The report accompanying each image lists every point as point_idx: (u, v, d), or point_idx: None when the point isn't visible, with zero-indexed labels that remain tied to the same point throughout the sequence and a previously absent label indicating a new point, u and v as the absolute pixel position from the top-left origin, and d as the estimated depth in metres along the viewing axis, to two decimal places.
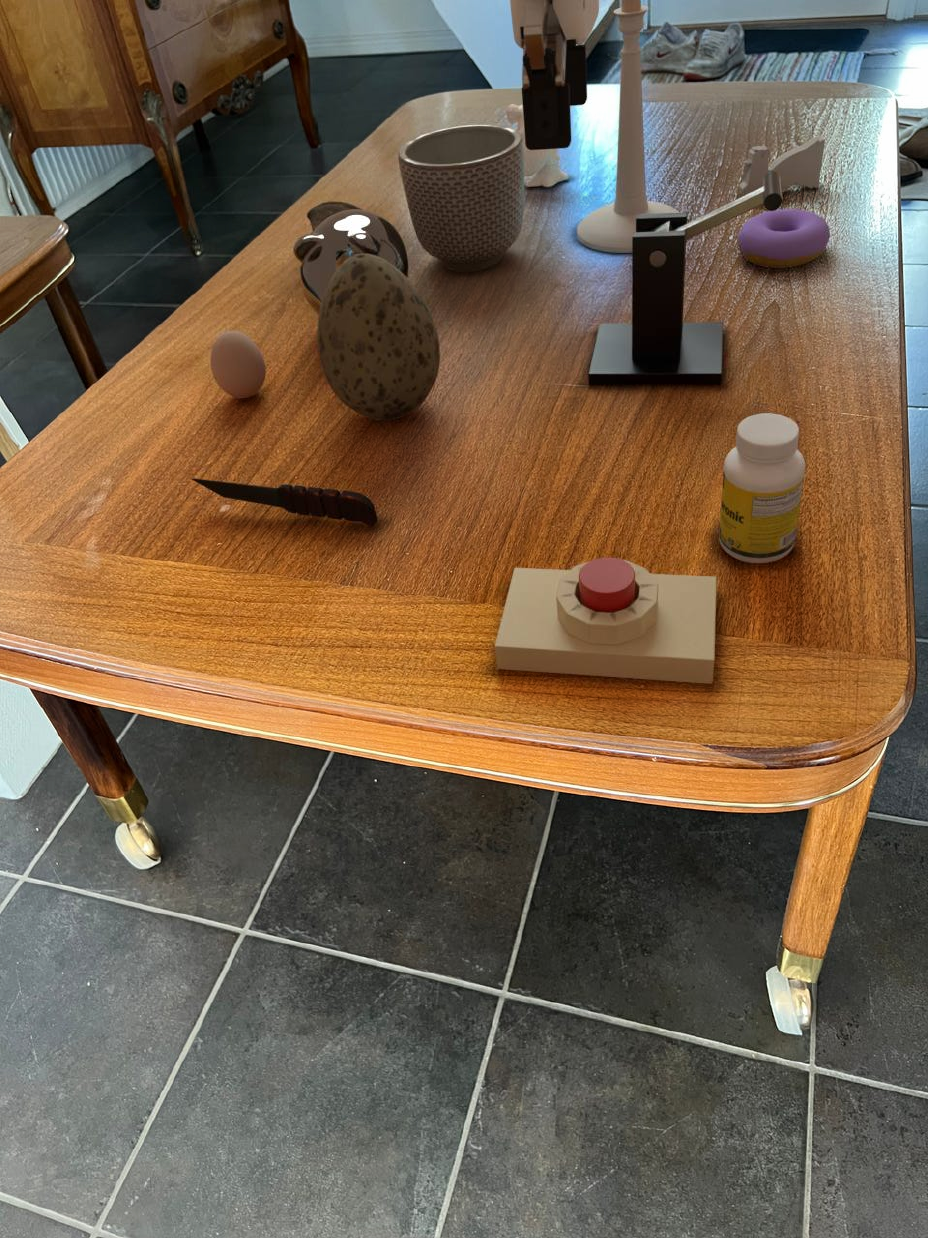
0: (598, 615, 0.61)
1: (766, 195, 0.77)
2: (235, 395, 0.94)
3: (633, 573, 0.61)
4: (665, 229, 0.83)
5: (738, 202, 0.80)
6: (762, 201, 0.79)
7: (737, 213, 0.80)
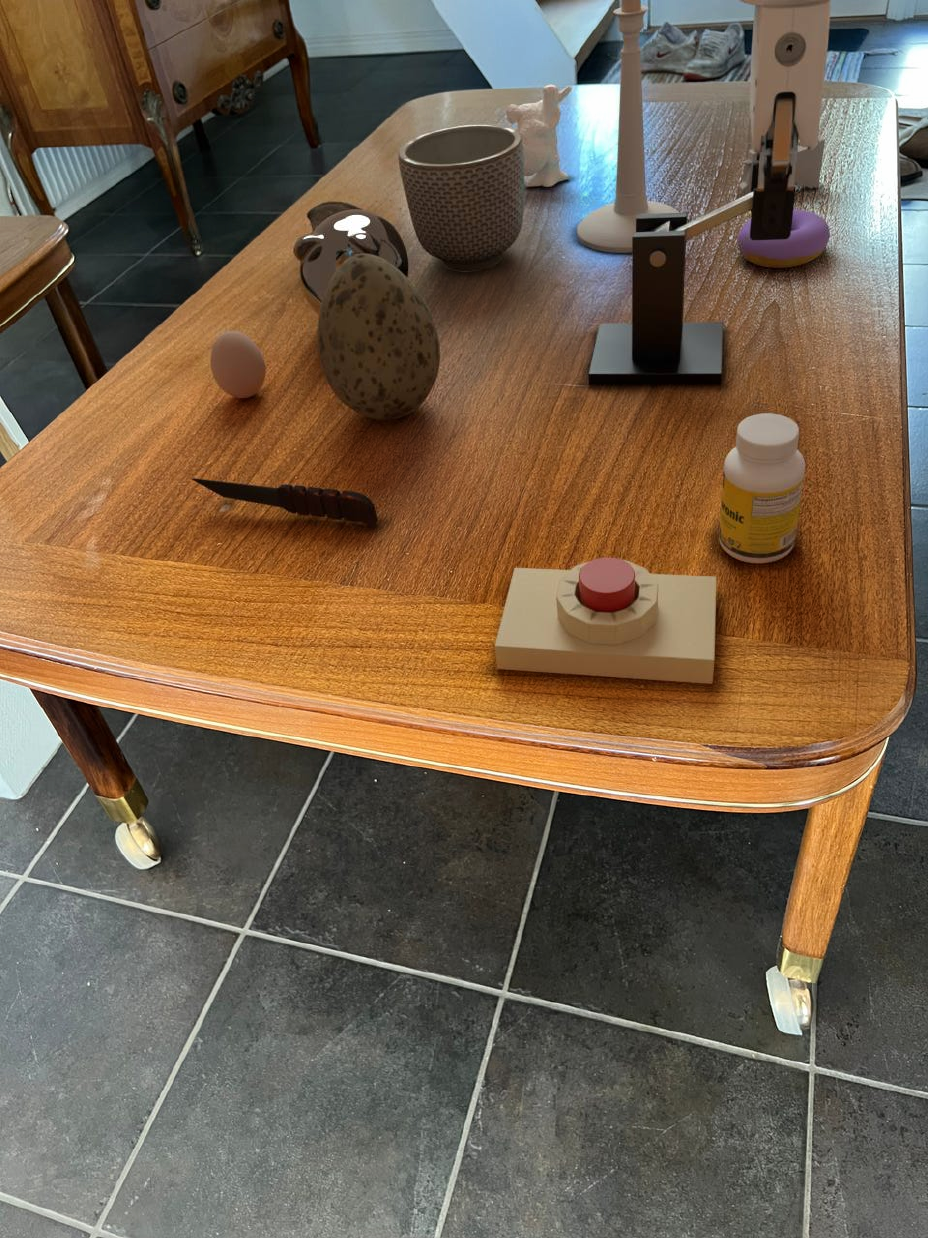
0: (598, 615, 0.61)
1: None
2: (235, 395, 0.94)
3: (633, 573, 0.61)
4: (665, 229, 0.83)
5: (738, 202, 0.80)
6: None
7: (737, 213, 0.80)
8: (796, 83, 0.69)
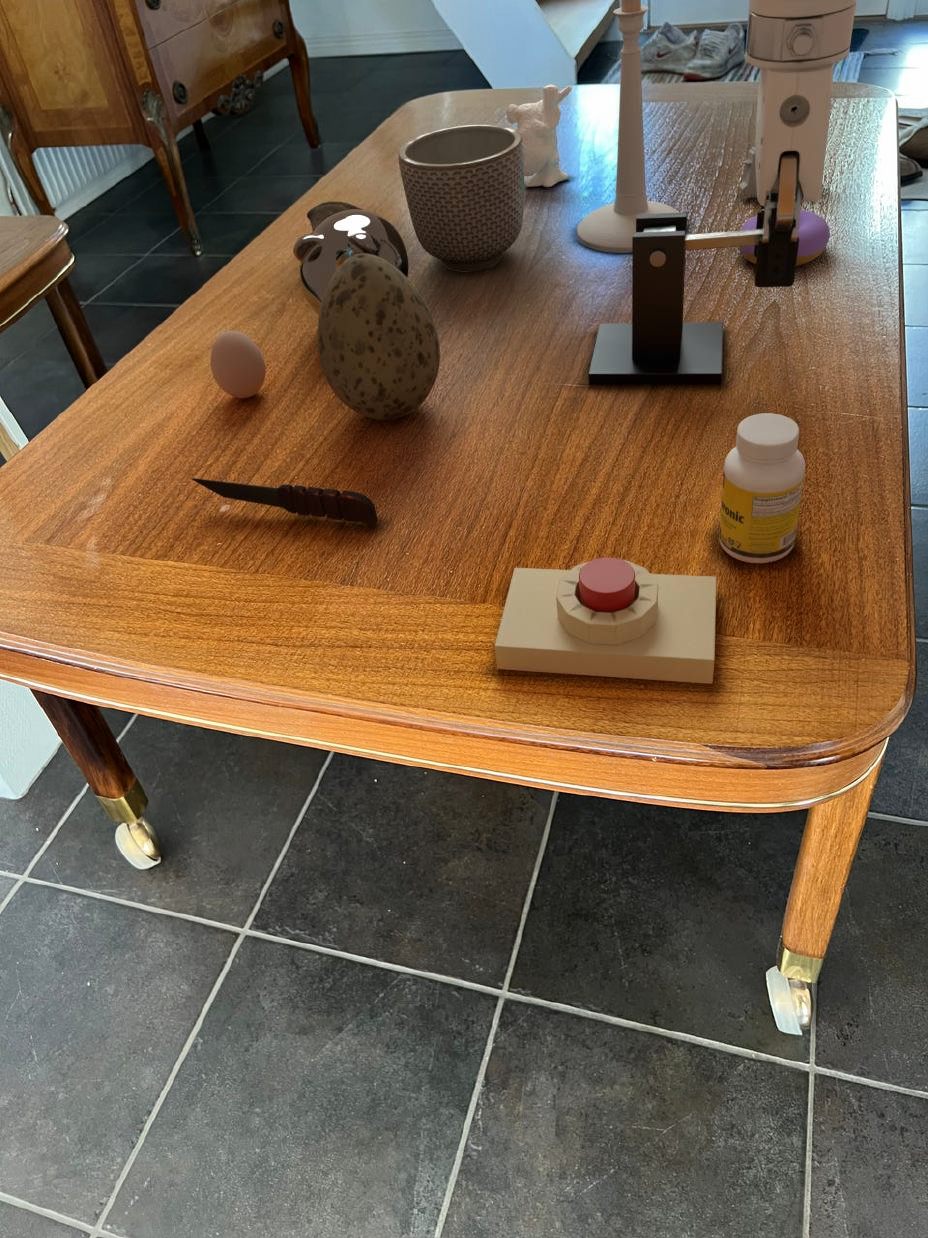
0: (598, 615, 0.61)
1: None
2: (235, 395, 0.94)
3: (633, 573, 0.61)
4: None
5: (746, 233, 0.82)
6: None
7: (741, 244, 0.82)
8: (800, 143, 0.72)
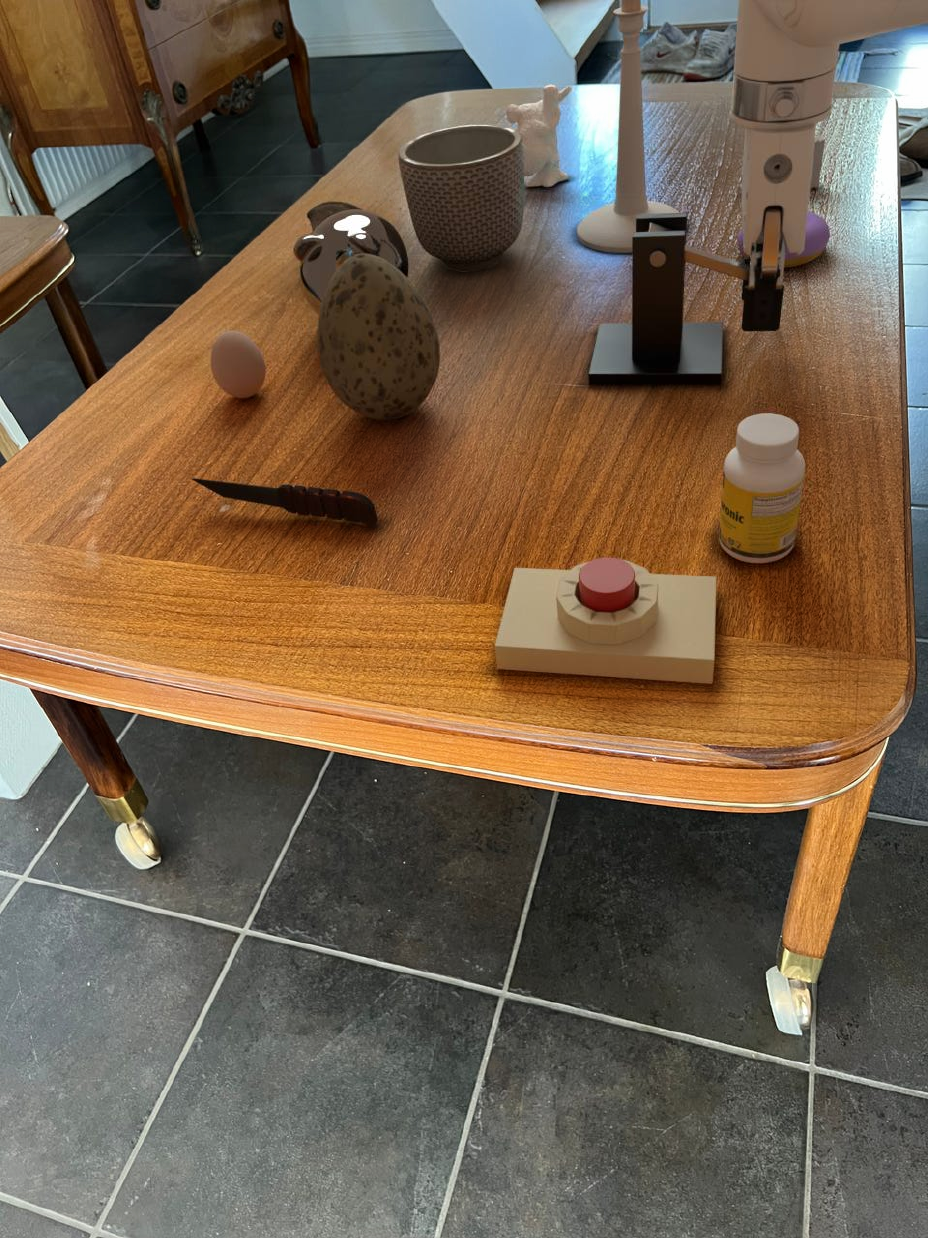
0: (598, 615, 0.61)
1: None
2: (235, 395, 0.94)
3: (633, 573, 0.61)
4: None
5: (740, 266, 0.84)
6: None
7: (733, 274, 0.84)
8: (783, 198, 0.75)
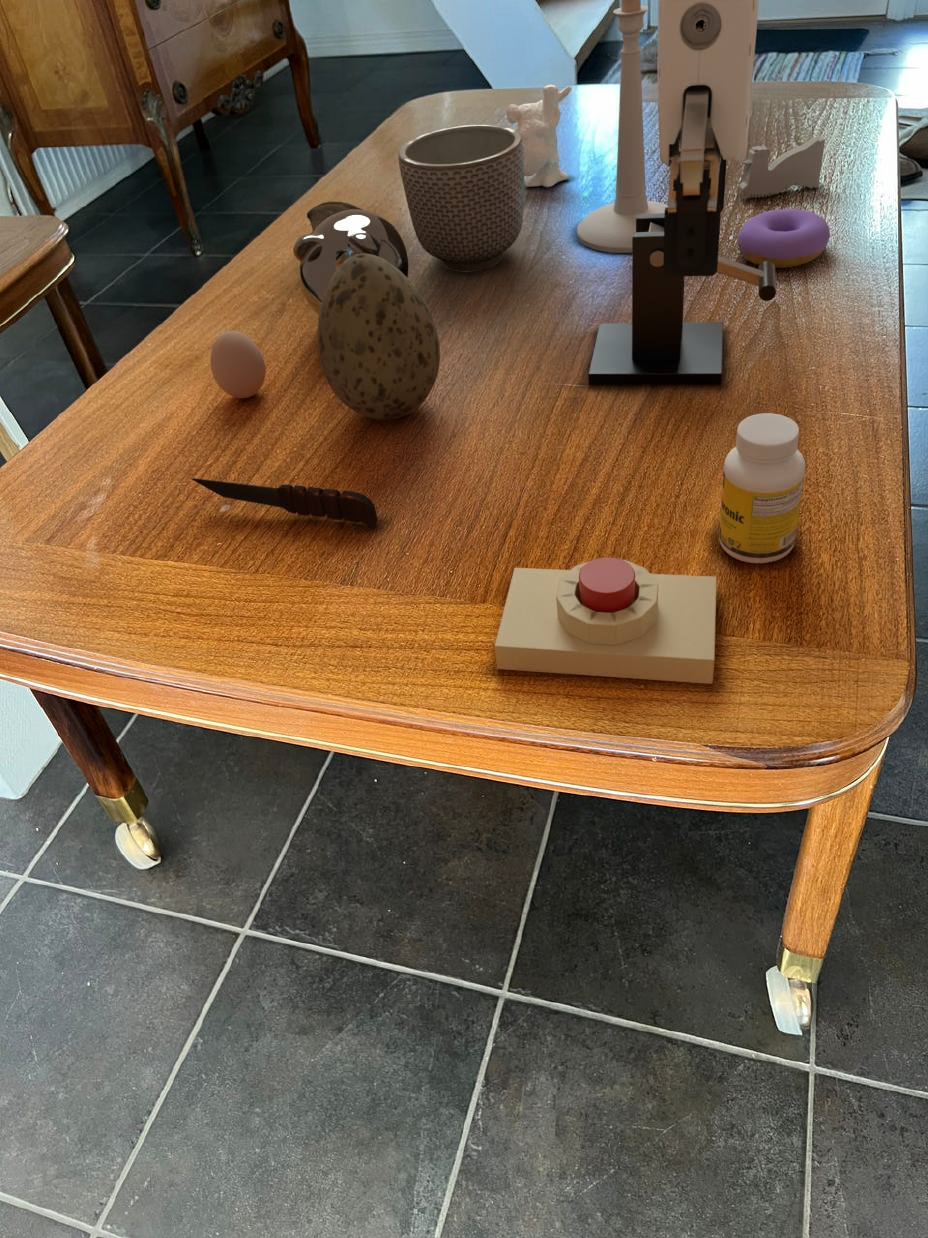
0: (598, 615, 0.61)
1: (767, 283, 0.82)
2: (235, 395, 0.94)
3: (633, 573, 0.61)
4: None
5: (740, 267, 0.84)
6: (755, 282, 0.84)
7: (732, 275, 0.84)
8: (711, 73, 0.51)
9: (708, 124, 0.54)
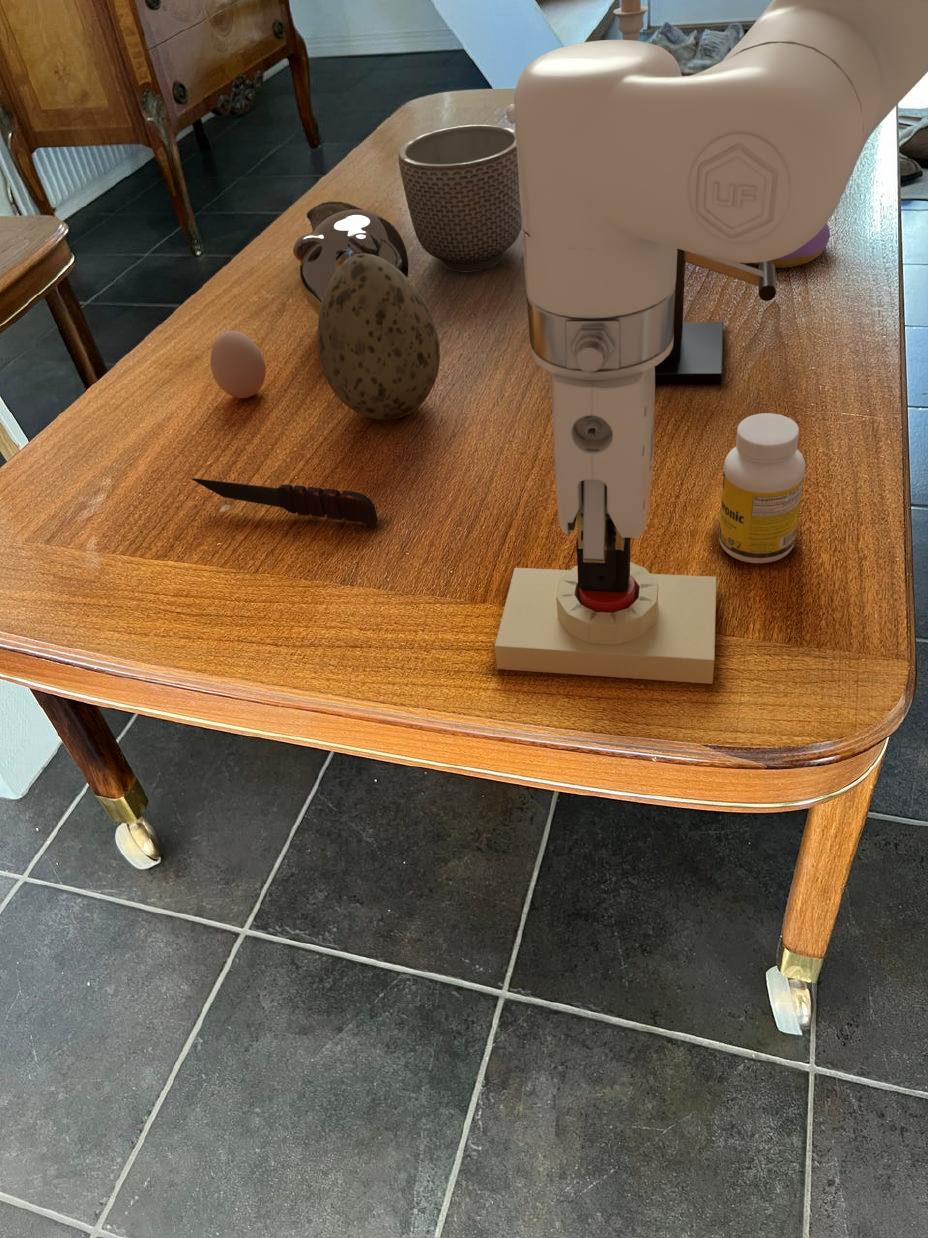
0: (598, 615, 0.61)
1: (767, 283, 0.82)
2: (235, 395, 0.94)
3: (633, 583, 0.62)
4: None
5: (740, 267, 0.84)
6: (755, 282, 0.84)
7: (732, 275, 0.84)
8: (604, 472, 0.50)
9: None
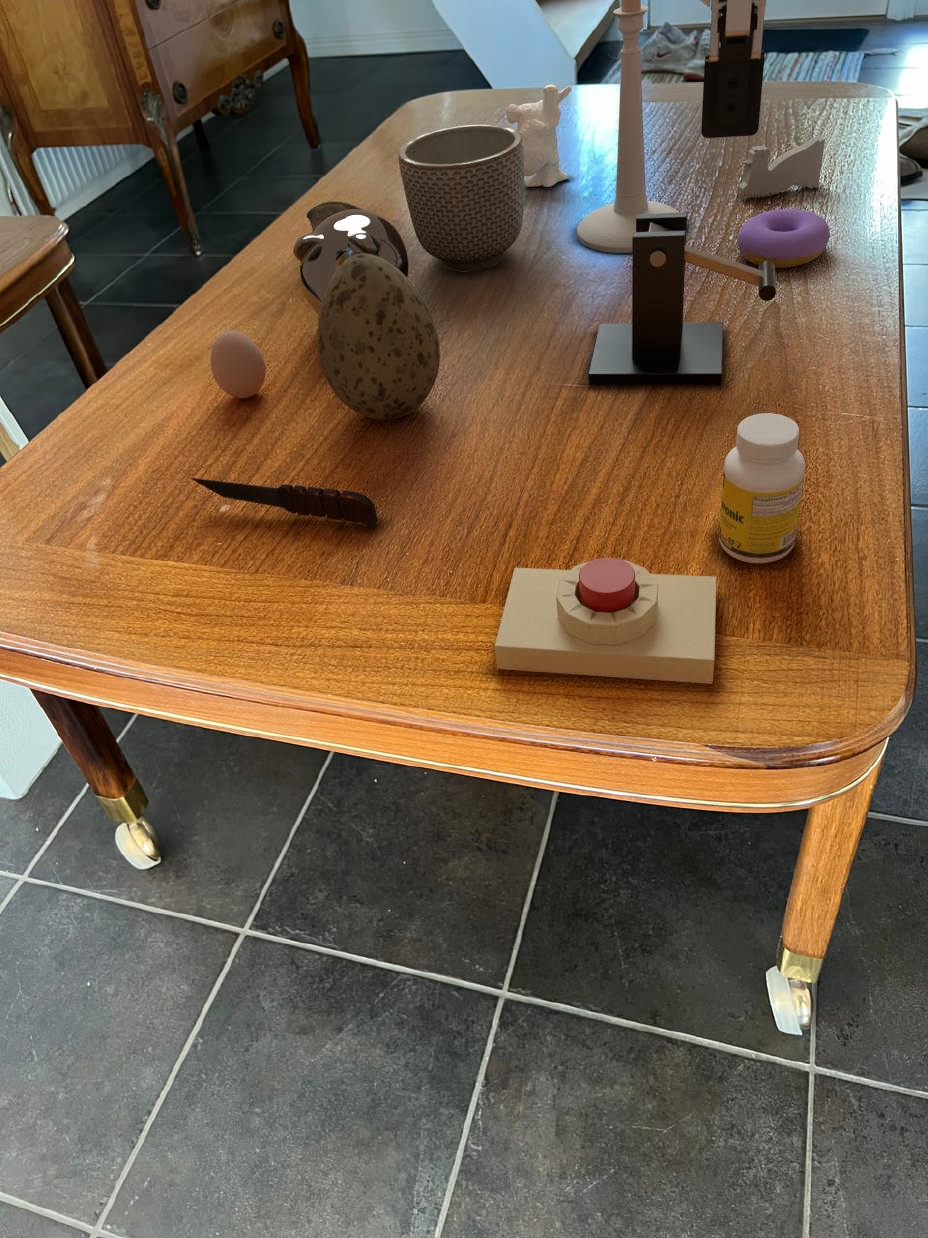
0: (598, 615, 0.61)
1: (767, 283, 0.82)
2: (235, 395, 0.94)
3: (633, 573, 0.61)
4: None
5: (740, 267, 0.84)
6: (755, 282, 0.84)
7: (732, 275, 0.84)
8: None
9: None
